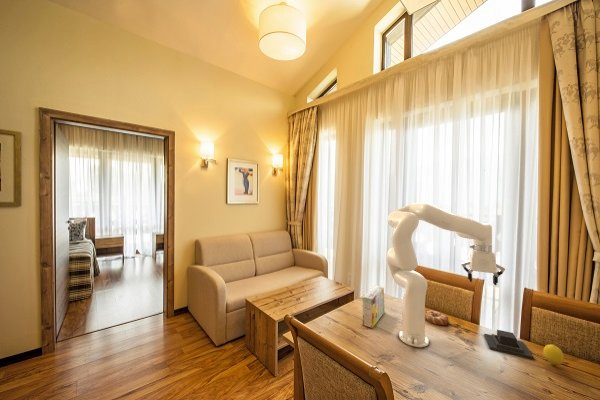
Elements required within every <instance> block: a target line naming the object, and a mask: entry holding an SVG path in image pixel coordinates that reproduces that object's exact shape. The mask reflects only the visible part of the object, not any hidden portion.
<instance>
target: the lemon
mask: <svg viewBox="0 0 600 400" xmlns="http://www.w3.org/2000/svg"><path fill="white" fill-rule="evenodd" d="M542 352H543V357H544V358H545V360H546V361H547V362H549V363H550V364H551V365H552V366H561V365H562V364H563V363H564V362H565V355H564V353H563V351H562V349H560V347H558V346H557V345H555V344H546V345H545V346H544V348H543V350H542Z"/></svg>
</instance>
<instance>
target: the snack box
mask: <svg viewBox="0 0 600 400" xmlns="http://www.w3.org/2000/svg"><path fill="white" fill-rule="evenodd" d="M385 313H386V311H385V287H384V286H383V285H382V286H381V285H377V284H376V285H374V286H373V287H372V288H370V290H368V292H366V293H365V294H364V295H363V296H362V326H363V327H367V328H371V329H373V328H374V327H375V326H376V324H377V323H378V321H379V320H380V319H381V317H382V316H383V315H384V314H385Z"/></svg>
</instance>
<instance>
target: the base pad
mask: <svg viewBox="0 0 600 400" xmlns="http://www.w3.org/2000/svg"><path fill="white" fill-rule="evenodd" d="M483 336H484V338H485V341H486V342H487V345H488V348H489V349H490V350H492V351H497V352H501V353H505V354H508V355H513V356H517V357H520V358H521V357H522V358H526V359H529V360H534V356H533V354H532V353H531V352H530V350H529V349H528V346H527V345H526V344H525V342H524V341H521V340H517V348H516V347H512V346H508V345H503V344H499V342H498V340H497V334H494V333H491V334H488V333H484V334H483Z"/></svg>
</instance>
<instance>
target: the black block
mask: <svg viewBox="0 0 600 400" xmlns="http://www.w3.org/2000/svg"><path fill="white" fill-rule="evenodd" d="M496 335H497V340H498V342H499V344H503V345H508V346H512V347H516V348H517V341H518V339H517V337H516V335H515V333H514V332H511V331H507V330H501V329H496Z"/></svg>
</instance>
